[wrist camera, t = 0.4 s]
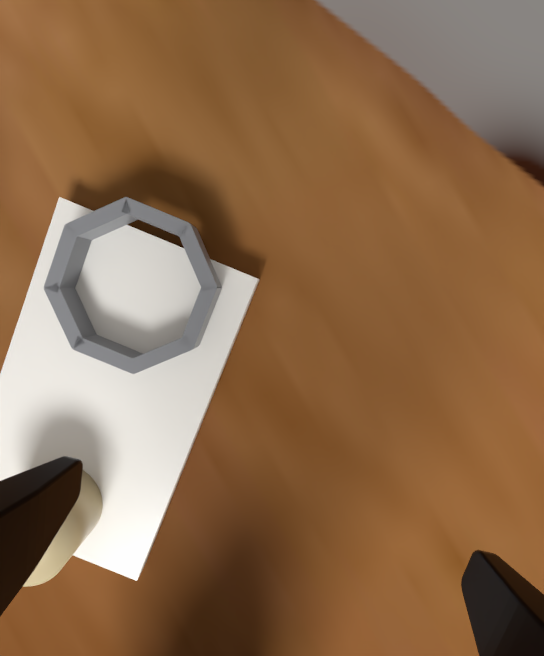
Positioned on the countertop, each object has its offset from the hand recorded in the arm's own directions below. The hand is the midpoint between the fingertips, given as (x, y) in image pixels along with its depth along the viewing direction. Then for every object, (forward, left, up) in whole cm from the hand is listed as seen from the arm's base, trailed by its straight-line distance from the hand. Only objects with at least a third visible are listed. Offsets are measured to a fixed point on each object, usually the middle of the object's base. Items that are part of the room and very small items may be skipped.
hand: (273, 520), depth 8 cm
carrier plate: (-5, +9, -14) cm, 18 cm away
